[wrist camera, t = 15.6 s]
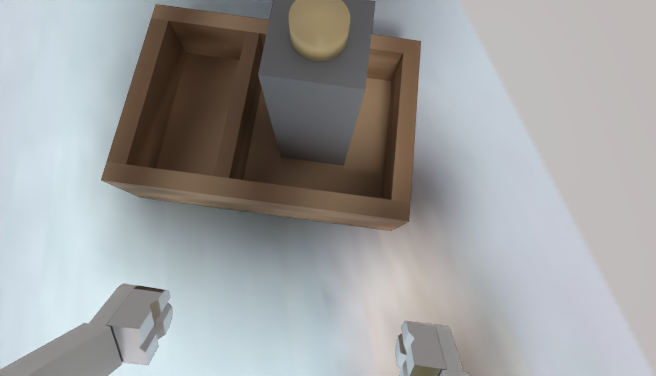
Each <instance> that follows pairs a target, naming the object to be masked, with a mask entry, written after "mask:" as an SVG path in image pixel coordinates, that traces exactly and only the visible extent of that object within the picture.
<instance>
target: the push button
mask: <svg viewBox="0 0 656 376" xmlns="http://www.w3.org/2000/svg"><path fill="white" fill-rule="evenodd" d="M374 8H375V1H370V0H273V5H272V10H271V15H270V19H269V24H268V29H267V34H266V39H265V44H264V49H263V53H262V58H261V63H260V68H259V73H258V76H259V80H260V83H261V87H262V91H263V94H264V98H265V102H266V105H267V109H268V113H269V116H270V120H271V124H272V127H273V131H274V134H275V138H276V142H277V145H278V149H279V153H280V156H281V157H283V158H291V159H298V160H305V161H313V162H320V163H327V164H335V165H342V166H344V163H345V159H346V156H347V152H348V149H349V145H350V142H351V138H352V135H353V131H354V128H355V124H356V121H357V117H358V114H359V110H360V107H361V103H362V100H363V96H364V93H365V89H366V80H367V71H368V62H369V53H370V44H371V35H372V26H373V17H374Z"/></svg>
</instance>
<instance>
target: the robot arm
mask: <svg viewBox="0 0 656 376" xmlns="http://www.w3.org/2000/svg"><path fill="white" fill-rule="evenodd" d="M169 299H170V293H169V291H168V290H163V289H156V288H150V287H144V286H137V285H130V284H122V285H120V286H119V287H118V288H117V289H116V290H115V291H114V293H113V294H112V295H111V296H110V298H109V299H108V300H107V301H106V303H105V304H104V305H103V306H102V308H101V309H100V310H99V311H98V313H97V314H96V315H95V316H94V318H93V319H92V320H91V321H90V323H83V324H82V325H80V326H78V327H76V328H74V329H73V330H71V331H69V332H67V333H65V334H64V335H62V336H60V337H58V338H56V339H54V340H53V341H51V342H49V343H47V344H45V345H44V346H42V347H40V348H38V349H36V350H35V351H33V352H31V353H29V354H27V355H26V356H24V357H22V358H20V359H18V360H17V361H15V362H13V363H11V364H9V365H8V366H6V367H4V368H2V369H0V376H108V375H109V374H110V373H112V372H113V371H114V370H115V369H117V368H118V367H119V366H120V365H122V363H132V364H142V365H149V363H150V361H151V360H152V358H153V356H154V354H155V352H156V351H157V349H158V347H159V345H158V339H159V338H161V337H162V336H164V335H165V334H166V332H167V330H168V328H169V327H170V323H171V320H172V314H173V310H172V306H171V305H170V304H169V303H168V301H169ZM401 330H402V334H400V335H399V336H398V338H397V342H396V349H395V355H396V365H397V366H398V367H399V368H400V370H401V371H400V373H399V376H470V374H469V373H466V372H463V368H462V365H461V362H460V358H459V355H458V352H457V349H456V345H455V342H454V339H453V336H452V332H451V329H450V328H449V327H448V326H443V325H435V324H429V323H421V322H412V321H404V322H403V324H402V327H401Z"/></svg>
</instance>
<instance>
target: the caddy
mask: <svg viewBox="0 0 656 376" xmlns="http://www.w3.org/2000/svg"><path fill="white" fill-rule="evenodd" d="M268 24H269V20H266V19H259V18H251V17H244V16H237V15H230V14H223V13H216V12H208V11H201V10H194V9H187V8H180V7H173V6H165V5H158V4H156V5H155V8H154V11H153V15H152V18H151V21H150V24H149V27H148V31H147V34H146V37H145V40H144V44H143V47H142V50H141V53H140V56H139V60H138V63H137V66H136V69H135V72H134V76H133V79H132V82H131V85H130V88H129V92H128V95H127V98H126V101H125V104H124V108H123V111H122V114H121V117H120V121H119V124H118V127H117V130H116V133H115V137H114V140H113V143H112V146H111V149H110V153H109V156H108V159H107V162H106V165H105V169H104V172H103V175H102V178H101V180H102V181H104V182H106V183H109V184H111V185H113V186H115V187H118V188H120V189H122V190H124V191H127V192H129V193H131V194H133V195H136V196H138V197H141V198H148V199H156V200H163V201H171V202H179V203H186V204H194V205H201V206H209V207H216V208H224V209H231V210H239V211H246V212H254V213H261V214H269V215H276V216H284V217H291V218H299V219H306V220H314V221H321V222H329V223H336V224H344V225H351V226H359V227H366V228H374V229H381V230H389V231H392V230H394V229H396V228H398V227H399V226H401V225H403V224H405V223H407V222H409V215H410V200H411V185H412V170H413V154H414V139H415V124H416V109H417V94H418V78H419V63H420V48H421V41H416V40H409V39H402V38H395V37H388V36H381V35H373V34H372V35H371V44H370V53H369V62H368V71H367V80H366V89H365V93H364V96H363V100H362V103H361V107H360V110H359V114H358V117H357V121H356V124H355V128H354V131H353V135H352V138H351V142H350V145H349V149H348V152H347V156H346V159H345V163H344V166H342V165H335V164H327V163H320V162H313V161H305V160H298V159H291V158H283V157H281V156H280V153H279V149H278V145H277V142H276V138H275V134H274V131H273V127H272V124H271V120H270V116H269V113H268V109H267V105H266V102H265V98H264V94H263V91H262V87H261V83H260V80H259V76H258V73H259V68H260V63H261V58H262V53H263V49H264V44H265V39H266V34H267V29H268Z"/></svg>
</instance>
